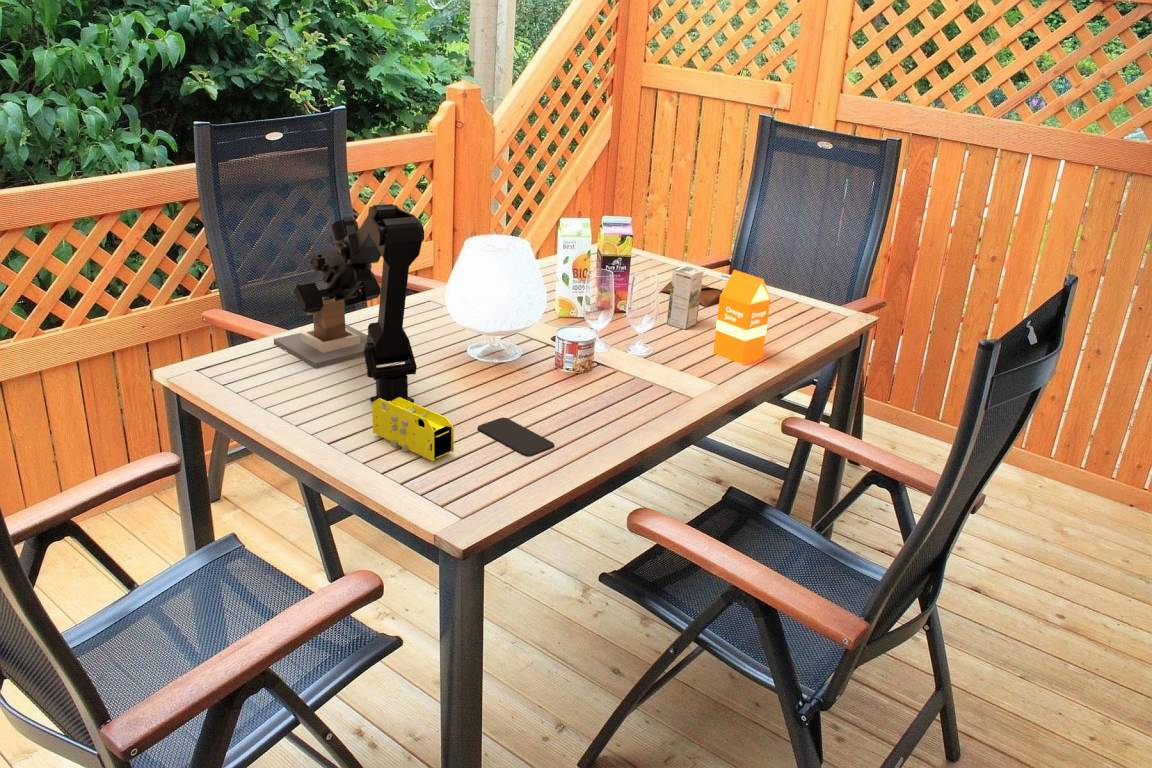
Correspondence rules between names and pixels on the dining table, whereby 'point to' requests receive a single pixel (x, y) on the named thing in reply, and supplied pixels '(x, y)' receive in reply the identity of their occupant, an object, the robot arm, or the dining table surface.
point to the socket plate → (324, 347)
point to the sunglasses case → (702, 295)
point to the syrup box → (684, 297)
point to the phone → (515, 437)
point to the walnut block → (330, 321)
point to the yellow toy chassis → (413, 428)
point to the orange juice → (742, 318)
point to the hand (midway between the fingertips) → (325, 309)
